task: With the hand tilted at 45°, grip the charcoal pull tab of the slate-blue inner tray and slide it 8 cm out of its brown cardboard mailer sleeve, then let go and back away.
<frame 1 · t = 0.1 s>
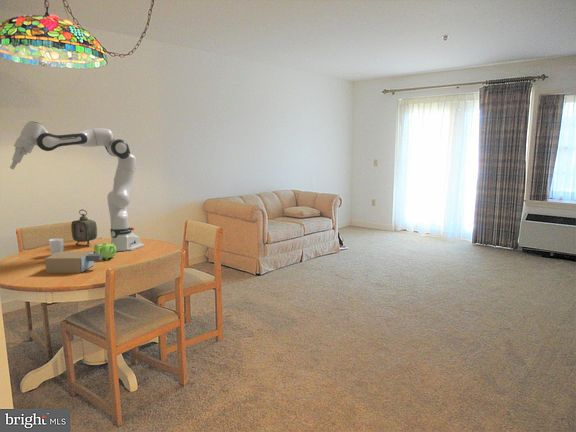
hand: (11, 168, 230), 54 cm above the table, tool tilted 30°, fingers open, 8 cm apart
white cup: (57, 255, 253), on the table
tabletop clock: (86, 245, 280), on the table
mailer sleeve: (70, 269, 223), on the table
teapot: (106, 258, 246), on the table
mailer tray: (77, 261, 223), point 4 cm above the table, slide at 0.0 cm
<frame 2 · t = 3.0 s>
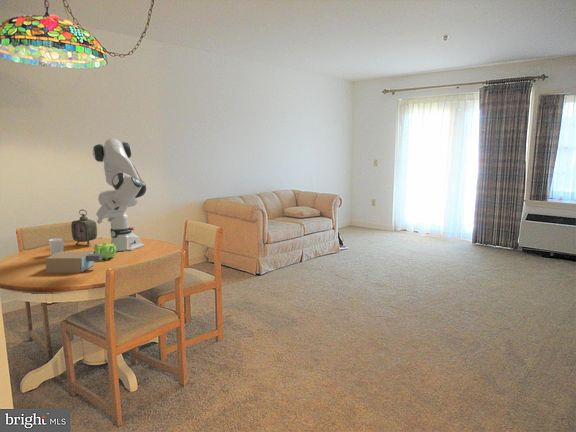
hand: (103, 221, 218), 27 cm above the table, tool tilted 40°, fingers open, 8 cm apart
nothing on the table moved.
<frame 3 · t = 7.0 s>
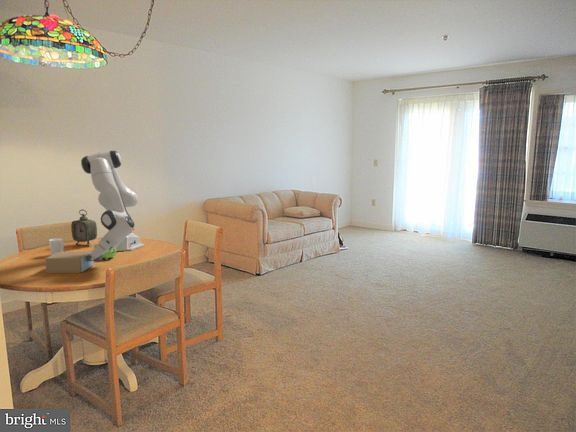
hand: (93, 258, 223), 6 cm above the table, tool tilted 45°, fingers closed on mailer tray, 4 cm apart
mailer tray: (77, 261, 223), point 4 cm above the table, slide at 0.0 cm, touching gripper
everything else where it was.
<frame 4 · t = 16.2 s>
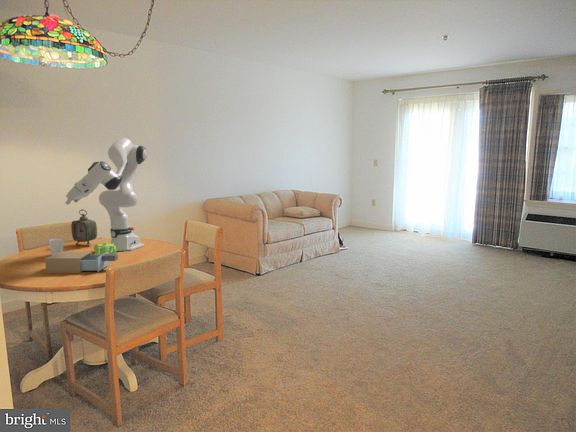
hand: (71, 202, 230), 35 cm above the table, tool tilted 45°, fingers open, 8 cm apart
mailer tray: (93, 261, 223), point 4 cm above the table, slide at 8.5 cm
everything else where it was.
at the end: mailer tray slide at 8.5 cm; the gripper is holding nothing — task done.
